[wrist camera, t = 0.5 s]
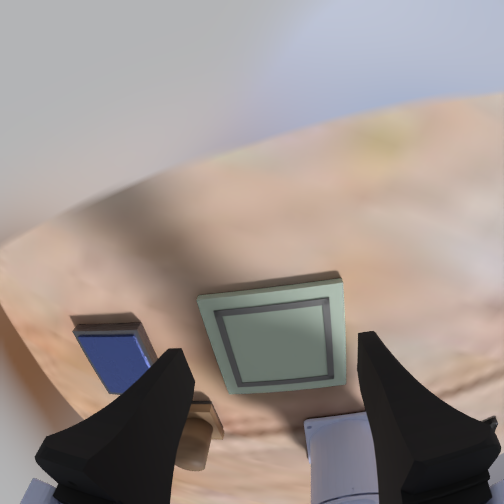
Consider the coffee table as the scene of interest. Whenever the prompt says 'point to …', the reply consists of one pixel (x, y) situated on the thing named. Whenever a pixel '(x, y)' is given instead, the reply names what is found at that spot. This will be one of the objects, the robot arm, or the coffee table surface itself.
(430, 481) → the robot arm
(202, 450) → the stamp
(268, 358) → the board
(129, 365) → the ink pad
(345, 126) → the coffee table surface
